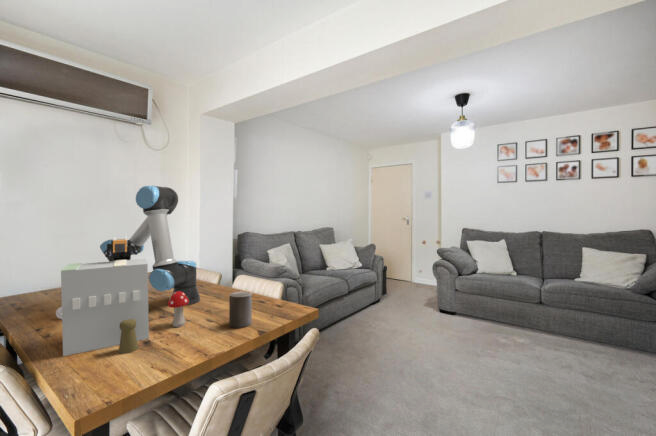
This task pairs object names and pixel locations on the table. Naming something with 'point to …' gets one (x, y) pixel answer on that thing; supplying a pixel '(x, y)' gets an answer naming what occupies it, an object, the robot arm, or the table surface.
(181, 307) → the decorative mushroom
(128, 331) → the cork
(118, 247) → the handle
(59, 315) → the smoothie
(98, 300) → the breaker panel
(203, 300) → the table surface
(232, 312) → the pillar candle
